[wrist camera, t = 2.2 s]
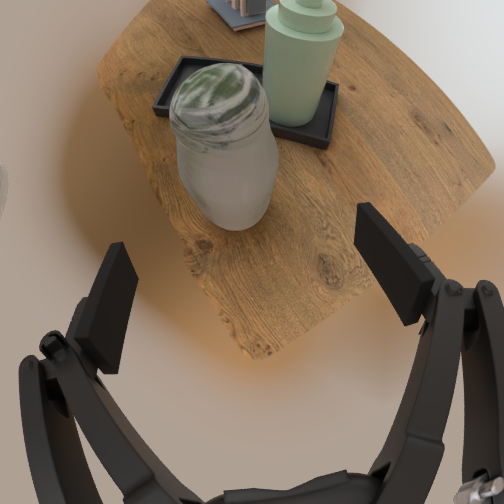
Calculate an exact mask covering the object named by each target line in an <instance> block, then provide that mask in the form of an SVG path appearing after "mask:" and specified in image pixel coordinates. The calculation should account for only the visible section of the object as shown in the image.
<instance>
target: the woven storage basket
mask: <svg viewBox="0 0 504 504" xmlns="http://www.w3.org/2000/svg"><path fill="white" fill-rule="evenodd" d="M206 2H207V3H208V4H209V5H210V6H211V7H212V8H213V9H214V10H215V11H216V12H217V13H218V14H219V15H220V16H221V17H222V18H223V19H224V21H225V22H226V23H227V24H228V25H229V26H230V27H231V28H232V29H233V30H234V31H238V30H242V29H246V28H250V27H254V26H258V25H263V24H265V15H266V12H267V11H268V10H269V9H270V8H271V7H273V6H275V5H276V4H274V3H273V2H272V1H271V0H206Z"/></svg>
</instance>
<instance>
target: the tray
mask: <svg viewBox="0 0 504 504" xmlns="http://www.w3.org/2000/svg"><path fill="white" fill-rule="evenodd" d="M218 63H233V64H242V65H243V66H244V67H245V68H246V69H248V70H249V71H251V72H252V73H253V74H254V76H255V77H256V78H257V79H258V81H259V83H260V84H261V86H262V71H263V65H258V64H252V63H246V62H239V61H232V60H224V59H215V58H205V57H193V56H181V58H180V59H179V61H178V63H177V64H176V66H175V68H174V69H173V71H172V73H171V74H170V76H169V78H168V79H167V81H166V83H165V85H164V87H163V88H162V90H161V92H160V94H159V96H158V98H157V99H156V101H155V103H154V105H153V107H152V108H153V110H154V112H155V114H156V116H163V117H169V112H170V105H171V101H172V98H173V96H174V93H175V91H176V90H177V88H178V87H179V85H180V84H181V83H182V82H183V81H184V80H185V79H186V78H187V77H189V76H190V75H191V74H193V73H195V72H196V71H198V70H200V69H202V68H204V67H208V66H211V65H214V64H218ZM338 88H339V84H337V83H334V82H331V81H327V82H326V85H325V88H324V91H323V94H322V97H321V100H320V102H319V105H318V108H317V111H316V114H315V116H314V118H313V119H312V120H311V121H310V122H308V123H307V124H304V125H302V126H297V127H287V126H283V125H279V124H277V123H275V122H273V121H271V120H270V119H269V123H270V128H271V131H272V133H273V135H274V136H275V137H280V138H284V139H288V140H292V141H295V142H299V143H303V144H307V145H310V146H314V147H317V148H321V149H324V150H326V149H327V148H328V146H329V144H330V140H331V134H332V128H333V122H334V115H335V109H336V102H337V95H338Z"/></svg>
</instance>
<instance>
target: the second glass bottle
mask: <svg viewBox="0 0 504 504" xmlns="http://www.w3.org/2000/svg"><path fill="white" fill-rule="evenodd" d="M336 11H337V7H336V5H335V4H334V3H333V2H332V1H331V0H279V4H277V5H275V6H273V7H271V8H270V9H269V10H268V11H267V12H266V15H265V33H264V52H263V71H262V88H263V89H264V91H265V93H266V96H267V100H268V105H269V119H270V120H271V121H273V122H275V123H277V124H279V125H283V126H287V127H297V126H302V125H304V124H307V123H308V122H310V121H311V120H312V119H313V118H314V116H315V114H316V111H317V108H318V105H319V102H320V100H321V97H322V94H323V91H324V88H325V85H326V82H327V79H328V76H329V73H330V70H331V67H332V64H333V61H334V58H335V55H336V52H337V49H338V46H339V43H340V40H341V37H342V34H343V31H344V27H343V24H342V22H341V21H340V19H339V18H338V17H337V16H336Z"/></svg>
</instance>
